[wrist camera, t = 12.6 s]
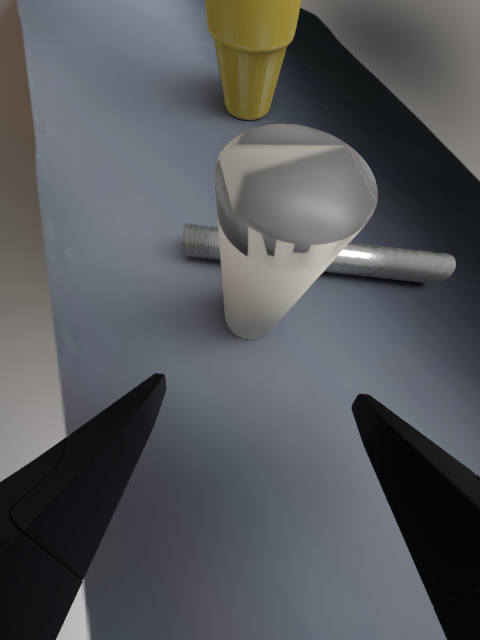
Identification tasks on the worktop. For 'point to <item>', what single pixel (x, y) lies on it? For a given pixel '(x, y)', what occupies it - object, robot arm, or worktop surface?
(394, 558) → the worktop surface
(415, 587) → the worktop surface
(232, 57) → the plant pot
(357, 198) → the white grey cylinder
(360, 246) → the grey steel rod
